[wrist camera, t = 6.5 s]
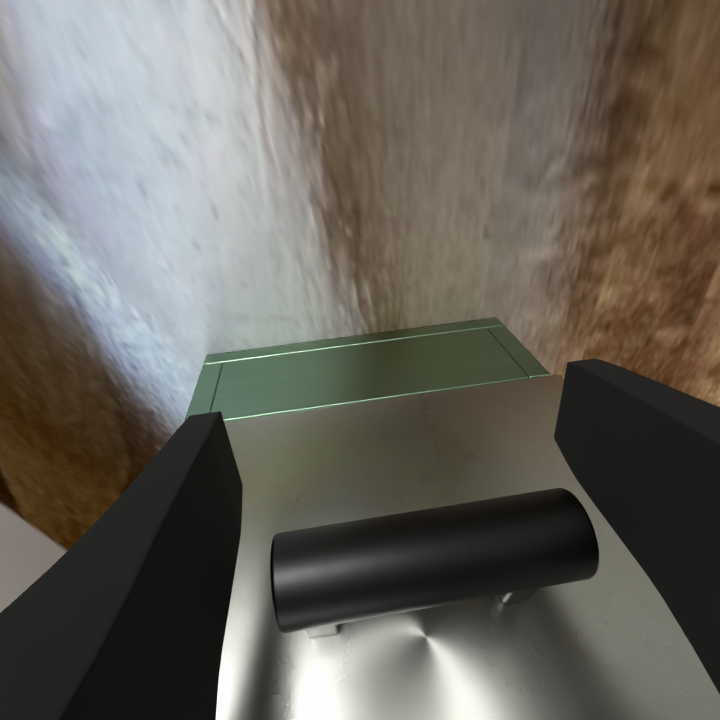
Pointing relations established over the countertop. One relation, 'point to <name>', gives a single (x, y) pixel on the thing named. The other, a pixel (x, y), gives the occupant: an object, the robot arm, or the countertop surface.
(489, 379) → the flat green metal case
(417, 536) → the bin lid
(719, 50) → the countertop surface
